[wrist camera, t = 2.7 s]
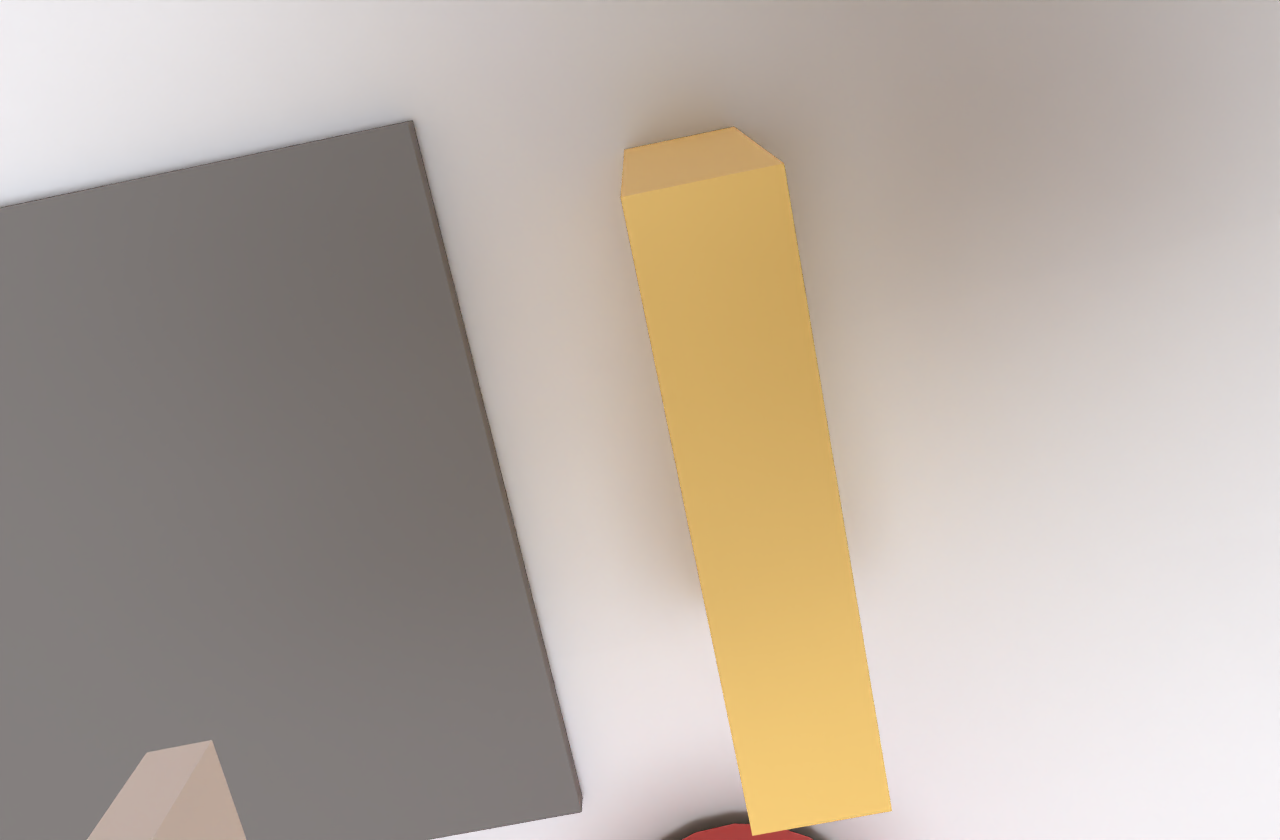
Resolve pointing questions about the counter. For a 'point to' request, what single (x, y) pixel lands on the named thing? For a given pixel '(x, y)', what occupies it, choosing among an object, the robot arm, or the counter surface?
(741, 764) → the slab
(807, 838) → the beer can
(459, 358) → the mat
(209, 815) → the robot arm
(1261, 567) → the counter surface
